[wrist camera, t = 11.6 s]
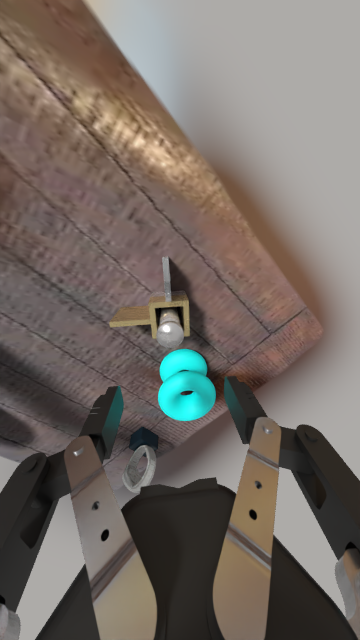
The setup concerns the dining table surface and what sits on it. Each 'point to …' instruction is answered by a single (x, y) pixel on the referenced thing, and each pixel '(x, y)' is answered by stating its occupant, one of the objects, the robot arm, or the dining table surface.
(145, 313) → the bracket
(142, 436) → the watch
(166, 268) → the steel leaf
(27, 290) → the dining table surface
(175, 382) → the donuts
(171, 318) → the hinge pin
